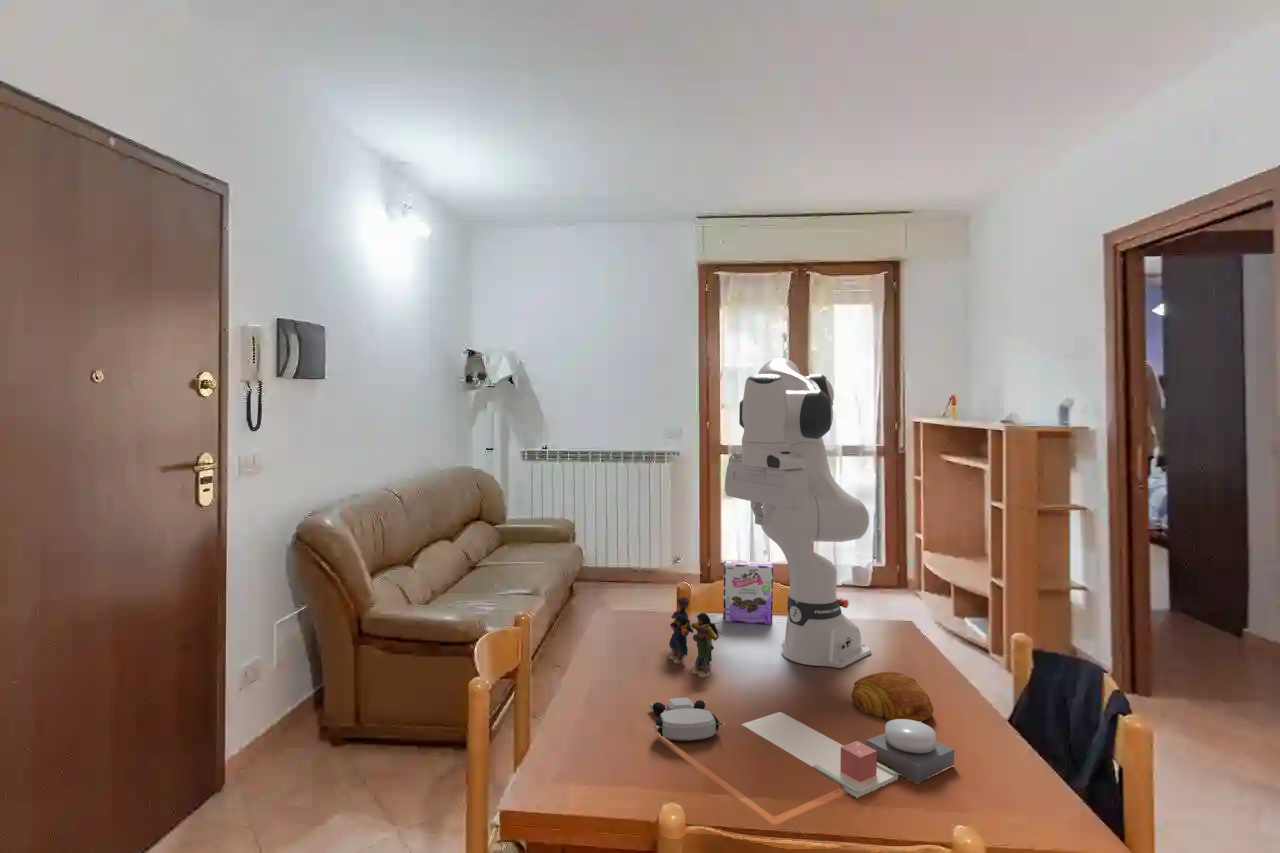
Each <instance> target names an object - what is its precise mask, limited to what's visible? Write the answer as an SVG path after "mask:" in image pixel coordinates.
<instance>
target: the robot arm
mask: <svg viewBox="0 0 1280 853" xmlns="http://www.w3.org/2000/svg"><path fill="white" fill-rule="evenodd" d="M834 395H835V392H834V389H833V386H832V384H831V382H830V381H829V379H827V377H826V376H825V375H823V374H821V373H814V374H813V373H812V374H809V375H808V376H805V375H803V374H801V372H800V369H799V368H798V366H797V364H795V362H793V361H792V360H790V359H788V358H784V357H777V358H773V359H771V360H769V361H767V362H766V363H765V364H764V365H763V366H762V367H761V368H760V370H759V371H758V373H757V374H752V375H750V376H748V377H747V378H746V380H745V384H744V391H743V397H742V400H741V401H740V402H739V412H738V413H739V415H738V416H739V422H738V424H739V425H740V426H741V427H742V428H743V434H742V438H741V453H740V452H734V453H733V454H731V455H730V457H729V458H728V464H727V467H726V472H725V481H724V493H725V495H726V496H727V497H729V498H731V497H732V498H735V499H740V500H745V501H749V502H750V508H751V510H752V513H753V515H754V524H755V525H759V526H761V529H762V531H763V532H764V534H765V535H766V536H767V537H768V538H769V539H770V540H772V541H773V542H774V543H775V544H776V545H777V546H778V547H779V548H780V550H781V552H782V553H783V554H784V556H785V559H786V562H787V566H788V576H789V577H788V579H789V580H788V581H789V595H788V596H787V602H786V604H787V608H786V609H787V613H788V615H787V619H786V624H785V625H786V626H785V632H784V633H785V635H784V639H783V641H782V651H781V654H782V655H783V656H784V658H786V659H787V660H790V661H792V662H795V663H798V664H801V665H808V666H815V667H817V666H818V667H830V668H837V669H842V668H845V667H846V666H849V665H850V664H853V663H855V662H856V661H858V660H861V659H862V658H864V657H867V656H868V655H870V654H872V650H871V648H870V646H868V645H866V644H864V643H862V636H861V631H860V628H859V626H857V625H856V624H855V623H854V622H853V621H851V620H850V619H849V618H848V617H847V616H846V615H844V614H843V613H842V609H841V607H842V608H844V609H847V608H848V607H849V606H850V601H849V600H848V599H845V598H842V597H840V598H839V599H838V598H837V587H838V586H837V578H838V576H837V575H838V574H837V569H836V566H835V564H834V563H833V562H832V561H831V560H829V558H827V557H825V556H823V555H821V554H818V553H817V552H814V550H813V549H812V543H815V542H817V543H818V542H821V543H823V542H824V543H825V542H827V543H829V542H830V543H831V542H832V543H842V542H843V543H844V542H849V541H854V540H860V539H862V538H863V537H864V535H865V534H866V532H867V531H868V528H869V524H870V517H869V516H870V515H869V512H868V509H867V507H866V506H865V504H864V503H863V502H862V501H861V500H860V499H858V498H856V497H854V496H852V495H850V494H849V493H847V492H846V491H845V490H844V488H842V487H841V486H840V485H839V484H838V483H837V481H836V480H835V478H834V476H833V475H832V473H831V468H830V466H829V461H828V457H827V450H826V447H825V443H824V439H823V436H825V435H826V434H827V433H828V432H829V431H830V430H831V427H832V424H833V420H834V409H833V408H834V407H833V405H834V398H835V396H834Z"/></svg>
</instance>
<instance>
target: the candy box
mask: <svg viewBox="0 0 1280 853" xmlns="http://www.w3.org/2000/svg"><path fill="white" fill-rule="evenodd" d="M773 579H774V563H773V562H770V561H769V562H766V561H747V560H746V561H745V560H744V561H743V560H741V561H740V560H739V561H738V560H727V559H725V560H724V564H723V588H722V591H723V592H722V596H723V597H722V613H723V614H722V620H723V621H722V622H723V623H724V622H726V623H743V624H756V625H757V624H758V625H759V624H760V625H772V624H773V606H774V605H773V603H774V601H773V597H774V595H773V594H774V593H773V592H774V590H773V589H774V588H773V587H774V586H773V585H774V580H773Z"/></svg>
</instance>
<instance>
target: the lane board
mask: <svg viewBox="0 0 1280 853" xmlns="http://www.w3.org/2000/svg"><path fill="white" fill-rule="evenodd" d="M740 724H741V726H743V727H745V728H746V729H748V730H750V731H752V732H753V733H754V734H757V735H759V737H762V738H763V739H764V740H766V741H768V742H770V743H771V744H773V745H774V746H777V747H778V748H779V749H781V750H783V751H785V752H786V753H788V754H790V755H792V756H793V757H795V758H796V759H798V760H799V761H802V762H803V763H805V764H807V765H808V766H809V767H812V768H813V769H815V770H817V771H818V772H820V773H821V774H823V775H825V776H826V777H828V778H829V779H831V780H833V781H835V782H836V783H838V784H840V785H841V787H839V789H840V790H843V791H844V792H845V791H846V792H845V793H847V794H848V793H849V795H850V794H851V795H850V796H852V795H853V796H855V797H856V798H855V797H854V798H855V799H859V798H861V797H863V796H865V795H867V793H868V794H870V793H871V791H872V792H874V791H876V790H878V788H879V789H881V788H883V787H885V786H887V785H889V784H888V783H890V784H892V783H894V782H896V781H898V780H899V774H898V773H897V772H895V771H893V770H891V769H889V768H888V767H889V766H885V765H883V764H882V763H880V762H878V761H877V773H876V776H873V777H871V778H869V779H866V780H864V781H862V782H859V781H857V780H855V779H853V778H852V777H850V776H848V775H847V774H845V773H843V772H841V771H840V761H841V747H842V746H844V745H843V744H841V743H840V742H837V741H836V740H834V739H832V738H830V737H828V736H826V735H824V734H823V733H821V732H819V731H817V730H815V729H813V728H812V727H810V726H808V725H806V724H804V723H802V722H801V721H798V719H797V720H796V719H795V718H793V717H791V716H789V715H787V714H785V713H783V712H781V711H779V712H775V713H772V714H769V715H765V716H763V717H759V718H756V719H753V720H750V721H747V722H744V723H740ZM897 779H898V780H897ZM895 780H896V781H895ZM893 781H894V782H893ZM891 782H892V783H891ZM886 784H887V785H886ZM882 786H883V787H882ZM880 787H881V788H880ZM869 792H870V793H869ZM864 794H865V795H864ZM862 795H863V796H862ZM853 796H852V797H853ZM860 796H861V797H860ZM858 797H859V798H858Z"/></svg>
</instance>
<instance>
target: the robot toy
mask: <svg viewBox="0 0 1280 853" xmlns="http://www.w3.org/2000/svg"><path fill="white" fill-rule="evenodd" d="M706 705H707V702H706V701H705V700H701V699H700V700H695V702H693V700H692V699H690V698H687V697H673V698H670V699H669V700H668V701H667V702H666V706H665V704H663V703H661V702H658V701H657V702H653V703H650V704H649V706H648V707H649V708H650V709H651V710H652V712H653V713H654V714H656V715H658V717H656V720H655V723H654V724H653V727H654V728H656V731H657V732H658V733H659V735H662V736H663V738H664V739H665V738H666V739H668V740H673V741H698V740H705V739H709V738H711V737H713V736H714V735H715V733H716V732H717V731H718V730H719V728H720V725H722V726H723V727H725V722H722V721H721V720H719V719H718V717H716V716H715V715H716V714H714V713H712V712H711V711H710V710H707V709H705V708H706Z"/></svg>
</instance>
